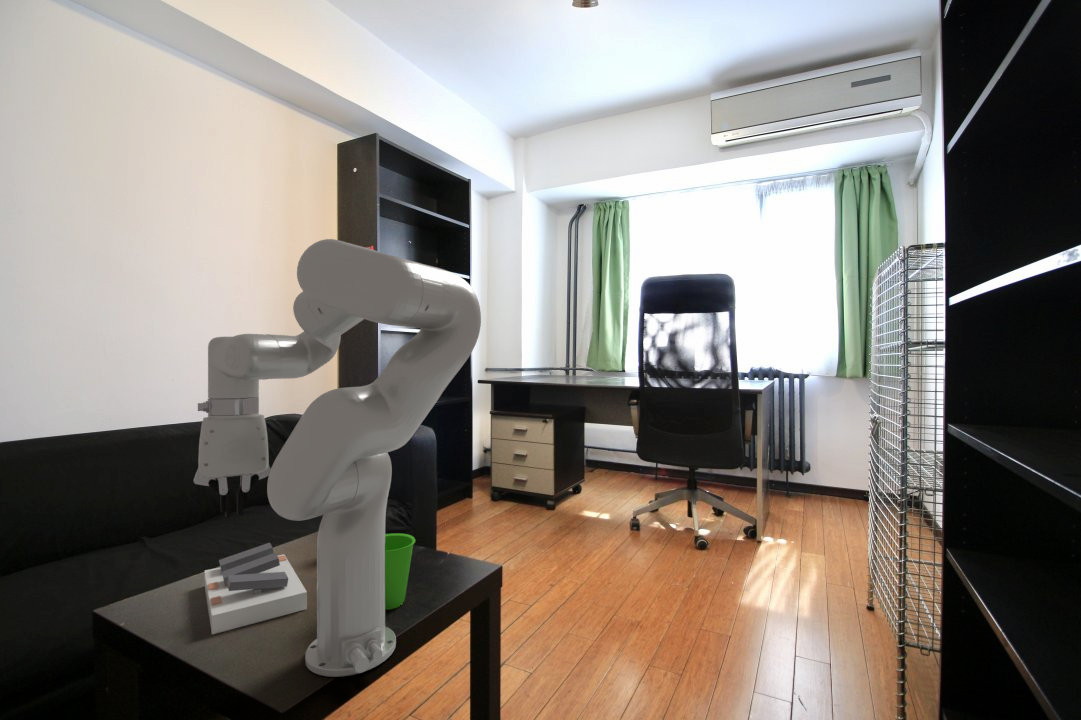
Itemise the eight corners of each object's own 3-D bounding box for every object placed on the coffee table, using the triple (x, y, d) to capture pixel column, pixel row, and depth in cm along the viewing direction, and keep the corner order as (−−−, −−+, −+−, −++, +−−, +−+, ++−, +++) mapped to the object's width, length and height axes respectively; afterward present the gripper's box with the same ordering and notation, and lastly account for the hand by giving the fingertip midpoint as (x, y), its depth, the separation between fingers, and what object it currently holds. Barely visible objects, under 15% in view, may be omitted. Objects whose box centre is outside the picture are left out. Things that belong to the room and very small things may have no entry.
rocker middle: (279, 565, 96) (278, 558, 96) (224, 585, 91) (223, 578, 91) (276, 559, 99) (275, 552, 99) (223, 579, 94) (221, 571, 93)
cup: (426, 599, 92) (426, 538, 92) (387, 620, 85) (386, 554, 85) (392, 587, 97) (392, 530, 97) (352, 607, 89) (352, 544, 90)
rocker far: (273, 554, 102) (272, 547, 101) (221, 572, 96) (220, 565, 96) (271, 548, 104) (269, 542, 104) (220, 566, 99) (218, 560, 99)
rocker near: (286, 586, 90) (288, 578, 90) (228, 591, 85) (230, 582, 85) (283, 579, 93) (284, 571, 93) (226, 583, 88) (228, 575, 88)
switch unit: (306, 609, 89) (306, 587, 89) (211, 634, 81) (211, 611, 81) (284, 568, 107) (284, 550, 107) (204, 586, 98) (204, 566, 98)
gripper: (179, 412, 80) (179, 529, 80) (287, 407, 89) (287, 512, 89) (178, 409, 86) (178, 518, 86) (280, 404, 95) (280, 503, 95)
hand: (234, 514), depth 87 cm, fingers closed
